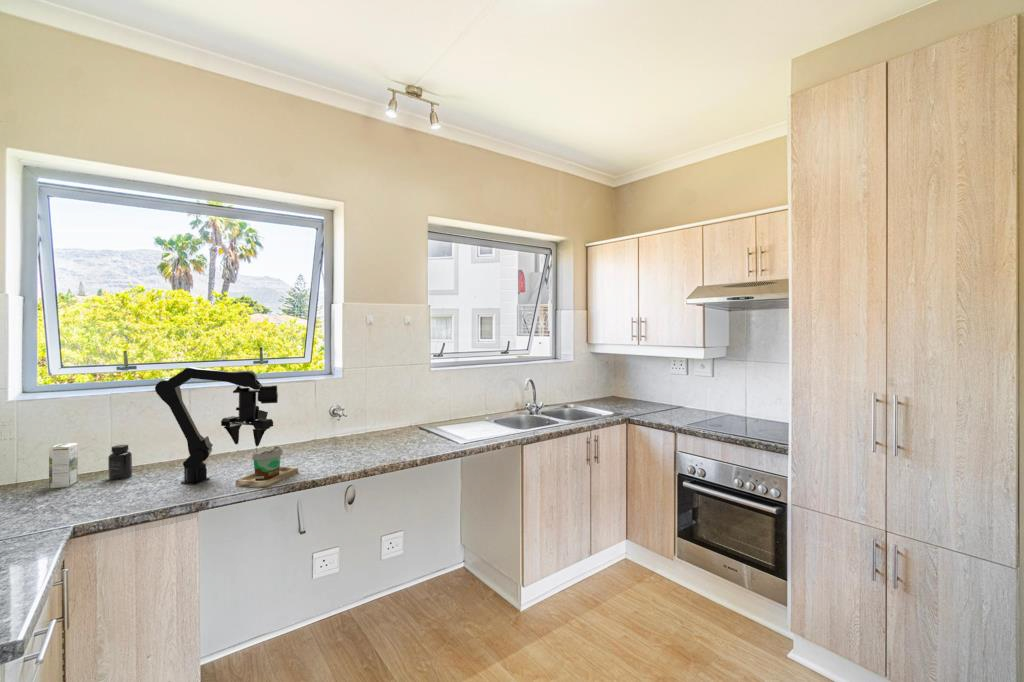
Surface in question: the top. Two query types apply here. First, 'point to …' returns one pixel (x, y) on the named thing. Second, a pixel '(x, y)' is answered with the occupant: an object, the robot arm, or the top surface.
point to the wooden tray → (251, 481)
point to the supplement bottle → (120, 463)
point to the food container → (267, 464)
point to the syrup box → (63, 465)
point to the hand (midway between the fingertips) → (246, 445)
